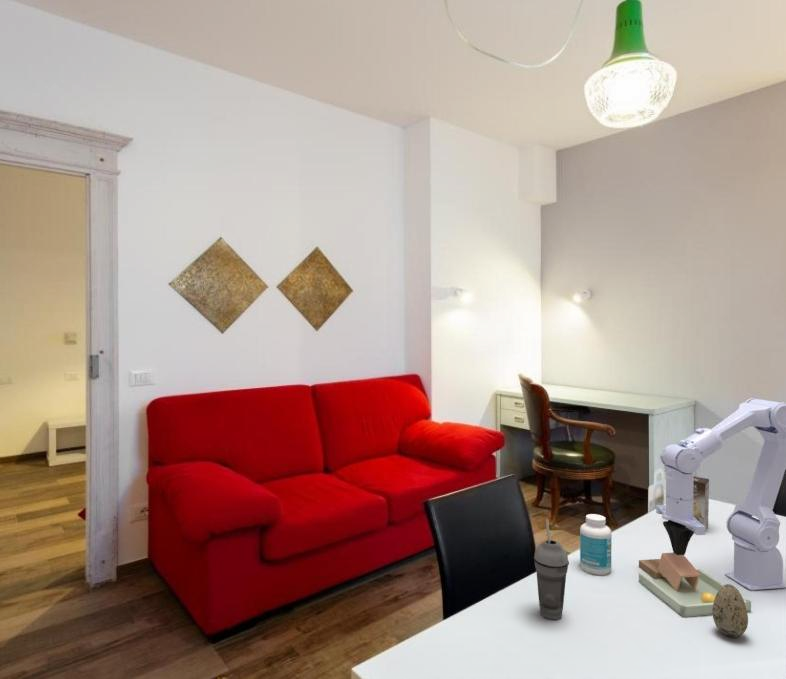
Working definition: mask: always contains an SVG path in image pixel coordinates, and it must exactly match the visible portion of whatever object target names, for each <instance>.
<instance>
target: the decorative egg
mask: <svg viewBox="0 0 786 679" xmlns="http://www.w3.org/2000/svg"><path fill="white" fill-rule="evenodd" d="M742 596H743V595H742V594H741V592H740V591H739V590H738V588H737V587H735V586H734V585H733V584H730V583H727V584H724V586H722V587H721V588H720V589H719V591H718V593H717V595H716V597H715V600H714V603H713V609H712V614H713V615H712V619H713V622H714V624H715V626H716V628H717V629H718V630H719V631H720V632H721V633H722V634H724V635H726V636H727V637H730V638H731V637H732V638H737V637H739V636H742V635H744V634H745V632H746V631H747V629H748V626H749V615H748V612H747V609H746V606H745V603H744V600H743V598H742Z"/></svg>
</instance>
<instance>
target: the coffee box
mask: <svg viewBox="0 0 786 679" xmlns="http://www.w3.org/2000/svg"><path fill="white" fill-rule="evenodd" d="M709 496H710V479H709V478H705V477H701V476H700V477H699V476H695V475H693V516H694V517H695V518H696V519H697V520H698V521H699V522H700V523H701V524H702V525H704V526H705V532H708V530H707V529H709V506H710V505H709V504H710V502H709V500H710V497H709Z"/></svg>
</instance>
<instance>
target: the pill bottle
mask: <svg viewBox="0 0 786 679" xmlns="http://www.w3.org/2000/svg"><path fill="white" fill-rule="evenodd" d="M606 523H607V519H606V517H605V516H603V515H601V514H597V513H589V514H586V516H585V523H583V524H581V525H580V528H579V530H580V531H579V562H580V563H579V566H580V568H581V569H582V570H583V571H584V572H585V573H587V574H590V575H595V576H606V575H609V574H610V573H611V572H612V530H611V528H610V527H609V526H608V525H606Z"/></svg>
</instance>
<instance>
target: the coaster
mask: <svg viewBox="0 0 786 679" xmlns="http://www.w3.org/2000/svg"><path fill="white" fill-rule="evenodd" d="M660 559H661V558H653V559H650V558H649V559H639V560H638V567H639V569H641V570H642V571H643V572H645V573H646V574H647V575H648V576H649V577H651V578H652V580H654V579H666V577H665V578H664V577H663V576H662V575H661V573H660V572H659V571H658V566H659V562H660ZM682 578H684V577H682Z"/></svg>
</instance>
